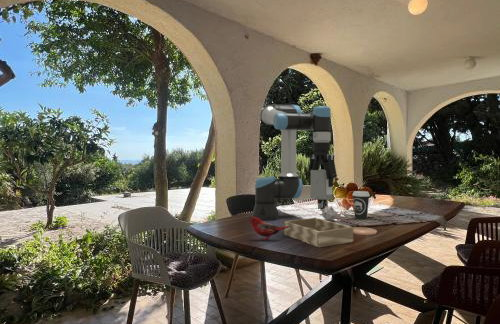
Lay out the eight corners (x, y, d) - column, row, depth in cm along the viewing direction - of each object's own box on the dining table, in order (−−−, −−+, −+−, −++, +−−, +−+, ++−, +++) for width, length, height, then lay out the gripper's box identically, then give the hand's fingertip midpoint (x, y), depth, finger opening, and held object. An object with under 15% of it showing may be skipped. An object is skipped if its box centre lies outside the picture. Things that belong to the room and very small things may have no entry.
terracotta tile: (344, 230, 162) (344, 228, 162) (362, 228, 168) (362, 226, 168) (363, 236, 152) (363, 234, 152) (382, 233, 158) (382, 231, 158)
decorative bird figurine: (249, 238, 148) (249, 215, 147) (290, 239, 146) (290, 216, 146) (248, 240, 145) (248, 217, 145) (290, 241, 143) (290, 218, 143)
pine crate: (283, 234, 156) (283, 221, 155) (315, 230, 164) (315, 217, 164) (319, 247, 134) (319, 232, 134) (353, 241, 143) (353, 227, 143)
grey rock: (332, 228, 185) (338, 215, 179) (317, 222, 187) (322, 209, 181) (334, 217, 192) (340, 205, 186) (320, 211, 194) (326, 199, 188)
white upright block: (318, 196, 156) (318, 169, 156) (336, 198, 150) (337, 170, 149) (305, 198, 150) (305, 170, 150) (324, 200, 143) (324, 170, 143)
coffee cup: (372, 219, 189) (372, 192, 189) (354, 219, 189) (355, 192, 189) (366, 216, 199) (366, 190, 198) (350, 216, 199) (350, 190, 198)
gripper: (299, 142, 157) (299, 191, 158) (332, 141, 137) (331, 196, 138) (312, 142, 161) (312, 190, 161) (346, 141, 141) (345, 195, 142)
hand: (321, 193), depth 150 cm, fingers closed on white upright block, 9 cm apart
